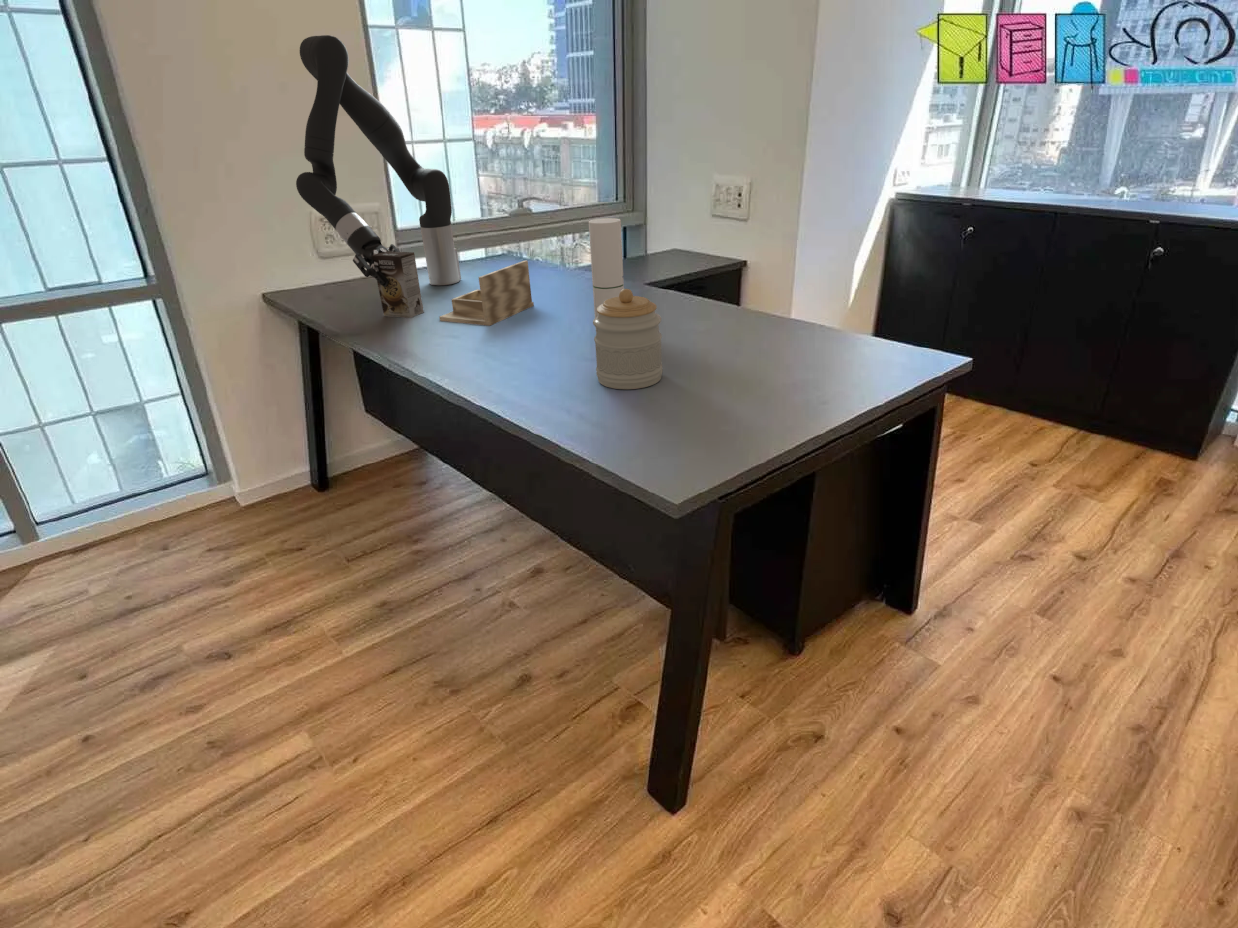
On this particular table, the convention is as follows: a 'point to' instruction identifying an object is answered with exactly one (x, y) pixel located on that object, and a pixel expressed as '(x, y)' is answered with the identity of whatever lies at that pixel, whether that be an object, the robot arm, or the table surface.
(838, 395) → the table surface
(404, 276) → the coffee box
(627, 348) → the jar
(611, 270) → the cylindrical container
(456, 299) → the holder
